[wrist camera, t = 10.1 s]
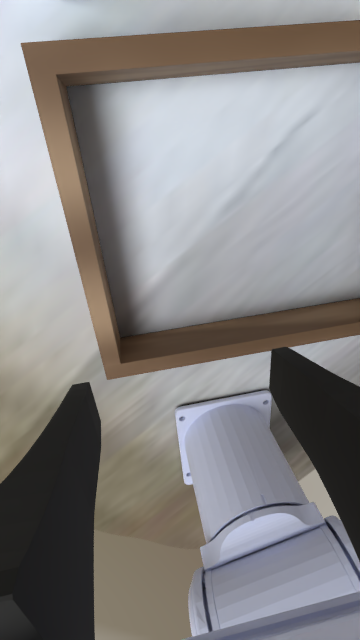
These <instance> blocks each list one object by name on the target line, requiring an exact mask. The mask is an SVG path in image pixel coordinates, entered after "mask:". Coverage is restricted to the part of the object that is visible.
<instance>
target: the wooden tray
mask: <svg viewBox="0 0 360 640" xmlns="http://www.w3.org/2000/svg"><path fill="white" fill-rule="evenodd" d="M21 46H22V50H23V54H24V58H25V62H26V66H27V70H28V74H29V78H30V81H31V85H32V89H33V93H34V97H35V101H36V105H37V109H38V113H39V116H40V120H41V124H42V128H43V132H44V136H45V140H46V144H47V148H48V151H49V155H50V159H51V163H52V167H53V171H54V175H55V179H56V183H57V186H58V190H59V194H60V198H61V202H62V206H63V210H64V214H65V218H66V222H67V225H68V229H69V233H70V237H71V241H72V245H73V249H74V253H75V257H76V260H77V264H78V268H79V272H80V276H81V280H82V284H83V288H84V292H85V295H86V299H87V303H88V307H89V311H90V315H91V319H92V323H93V327H94V330H95V334H96V338H97V342H98V346H99V350H100V354H101V358H102V362H103V365H104V369H105V373H106V377H107V380H109V379H115V378H120V377H126V376H132V375H137V374H143V373H148V372H154V371H159V370H165V369H171V368H176V367H182V366H187V365H193V364H199V363H204V362H210V361H215V360H221V359H226V358H232V357H238V356H243V355H249V354H254V353H260V352H265V351H271V350H272V349H276V348H281V347H293V346H299V345H305V344H310V343H316V342H321V341H327V340H332V339H338V338H344V337H349V336H355V335H360V298H358V299H352V300H346V301H340V302H334V303H328V304H322V305H316V306H310V307H304V308H297V309H291V310H285V311H279V312H273V313H267V314H261V315H255V316H249V317H243V318H237V319H231V320H225V321H219V322H213V323H207V324H201V325H195V326H189V327H183V328H177V329H171V330H165V331H159V332H153V333H147V334H141V335H135V336H129V337H123V338H120V335H119V330H118V326H117V321H116V316H115V312H114V307H113V302H112V298H111V293H110V288H109V284H108V279H107V274H106V270H105V265H104V260H103V256H102V251H101V246H100V242H99V237H98V232H97V228H96V223H95V218H94V214H93V209H92V204H91V200H90V195H89V190H88V186H87V181H86V176H85V172H84V167H83V162H82V158H81V153H80V148H79V144H78V139H77V134H76V130H75V125H74V120H73V115H72V111H71V106H70V101H69V97H68V92H67V87H68V86H80V85H92V84H104V83H116V82H128V81H140V80H152V79H165V78H177V77H189V76H201V75H213V74H225V73H237V72H249V71H262V70H274V69H286V68H298V67H310V66H322V65H334V64H347V63H359V62H360V20H354V21H339V22H325V23H310V24H295V25H280V26H265V27H251V28H236V29H221V30H206V31H191V32H176V33H162V34H147V35H132V36H117V37H102V38H87V39H73V40H58V41H43V42H28V43H21Z"/></svg>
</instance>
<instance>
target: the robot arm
mask: <svg viewBox="0 0 360 640" xmlns="http://www.w3.org/2000/svg"><path fill="white" fill-rule="evenodd" d="M269 389H270V391H271V393H270V392H269V391H268V390H264V391H259V392H254V393H249V394H243V395H238V396H233V397H228V398H223V399H217V400H212V401H207V402H202V403H197V404H191V405H186V406H181V407H178V408H177V409H176V410H175V418H176V425H177V433H178V440H179V448H180V455H181V463H182V470H183V478H184V483H185V484H187V485H190V484H193V486H194V490H195V495H196V499H197V504H198V508H199V512H200V517H201V521H202V526H203V530H204V535H205V539H206V543H207V544H206V545H204V546H202V547H201V548H200V551H201V556H202V560H203V565H204V567H201V568H199V569H197V570H196V571H195V572H194V575H193V579H192V583H191V586H190V589H189V597H188V601H189V602H188V604H189V617H190V625H191V631H192V637H189V638H186V639H182V640H360V387H359V386H357V385H355V384H353V383H351V382H349V381H347V380H345V379H343V378H341V377H339V376H337V375H335V374H333V373H332V372H330V371H328V370H326V369H324V368H323V367H321V366H319V365H317V364H316V363H314V362H312V361H311V360H309V359H307V358H305V357H304V356H302V355H300V354H299V353H297V352H295V351H293V350H292V349H290V348H288V347H281V348H276V349H272V352H271V369H270V385H269ZM271 394H272V395H271ZM272 396H273V398H274V400H275V402H276V404H277V407H278V409H279V411H280V412H281V414H282V416H283V417H284V419H285V420H286V422H287V424H288V425H289V427H290V428H291V430H292V431H293V433H294V435H295V436H296V438H297V439H298V441H299V442H300V444H301V445H302V447H303V449H304V450H305V452H306V453H307V455H308V456H309V458H310V460H311V461H312V463H313V465H314V467H315V468H316V470H317V472H318V474H319V476H320V478H321V480H322V482H323V484H324V486H325V488H326V490H327V492H328V494H329V496H330V498H331V500H332V502H333V504H334V506H335V508H336V510H337V513H338V515H339V517H340V519H341V520H339V519H338V518H337V517H336V516H329V517H326V518H325V519H323V517H322V515H321V514H320V512H319V510H318V508H317V506H316V505H315V503H314V502H311V503H309V501H308V499H307V498H306V496H305V494H304V492H303V490H302V488H301V487H300V485H299V483H298V481H297V479H296V477H295V475H294V473H293V472H292V470H291V468H290V466H289V464H288V462H287V460H286V459H285V457H284V455H283V453H282V451H281V449H280V447H279V446H278V444H277V442H276V440H275V438H274V436H273V434H272V433H271V431H270V416H271V401H272ZM265 400H266V401H265ZM180 417H182V418H180ZM100 452H101V420H100V417H99V413H98V410H97V407H96V403H95V400H94V396H93V393H92V390H91V386H90V383H89V382H86V383H80V384H75V385H72V386H71V388H70V389H69V391H68V393H67V394H66V396H65V398H64V399H63V401H62V403H61V404H60V406H59V408H58V409H57V411H56V413H55V414H54V416H53V417H52V419H51V420H50V422H49V423H48V425H47V426H46V428H45V429H44V431H43V432H42V433H41V435H40V436H39V438H38V439H37V440H36V442H35V443H34V444H33V446H32V447H31V449H30V450H29V451H28V452H27V454H26V455H25V456H24V457H23V459H22V460H21V461H20V462H19V464H18V465H17V466H16V467H15V468H14V469H13V471H12V472H11V473H10V474H9V475H8V476H7V478H6V479H5V480H4V481H3V482H2V483H1V484H0V640H95V633H94V581H93V580H94V574H93V573H94V569H93V568H94V567H93V563H94V551H93V550H94V549H93V547H94V546H93V545H94V541H93V540H94V510H95V499H96V490H97V480H98V471H99V462H100ZM324 520H325V521H324Z"/></svg>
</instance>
